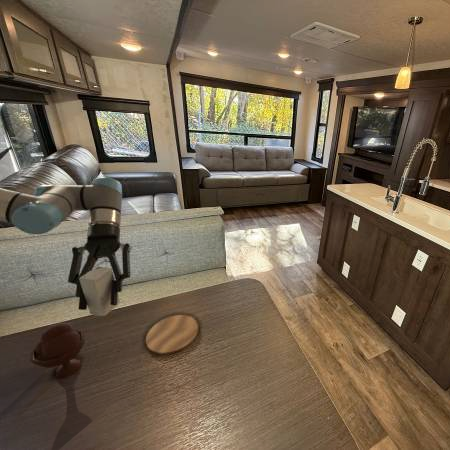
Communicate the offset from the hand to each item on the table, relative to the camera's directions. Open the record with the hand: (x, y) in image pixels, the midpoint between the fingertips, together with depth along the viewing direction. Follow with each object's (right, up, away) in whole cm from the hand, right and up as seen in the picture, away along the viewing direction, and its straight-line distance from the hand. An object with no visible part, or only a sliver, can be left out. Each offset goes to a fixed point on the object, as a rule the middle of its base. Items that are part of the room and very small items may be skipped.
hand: (98, 306), depth 66 cm
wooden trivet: (+10, -16, +19) cm, 27 cm away
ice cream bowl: (-13, -20, +5) cm, 24 cm away
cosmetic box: (-2, -2, +5) cm, 5 cm away
